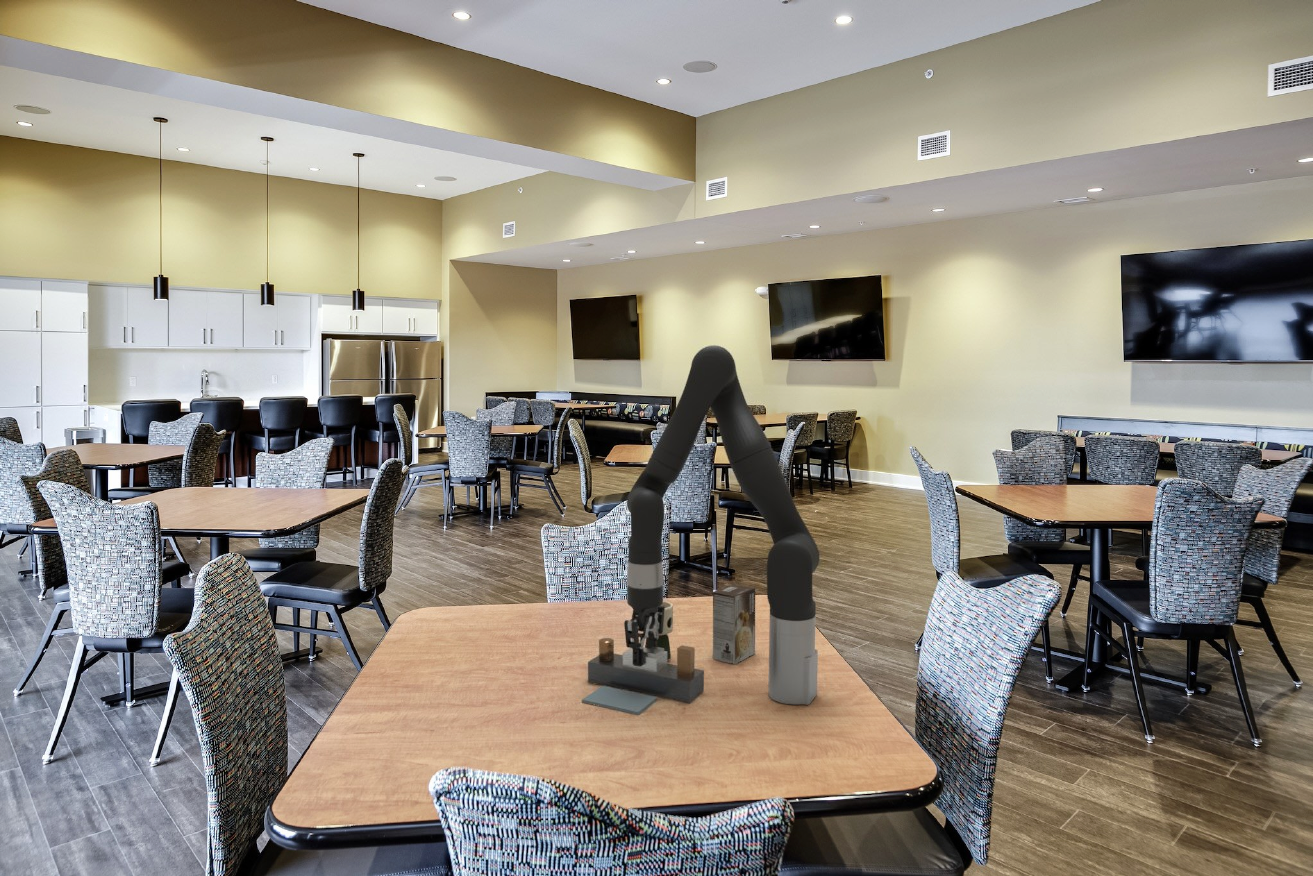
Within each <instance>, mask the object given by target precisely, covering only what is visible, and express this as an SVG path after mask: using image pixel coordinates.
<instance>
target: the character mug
mask: <svg viewBox="0 0 1313 876" xmlns="http://www.w3.org/2000/svg"><path fill="white" fill-rule="evenodd" d="M661 606H664V607H665V611H664V623H663V633H662V634H659V638H658V639H657V647H660V648H664V651H667V661H669V660H670V659H672V658H671V656H672V655H671V646H670V638H669V634H670V633H672V632H673V631H674V630H673V629H674V604H673V603H672V602H669V601H664V600H663V604H662V605H661ZM658 624H659V622H658ZM646 639H648V638H645V640H646ZM644 647H645V648H646V643H644Z"/></svg>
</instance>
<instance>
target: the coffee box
mask: <svg viewBox="0 0 1313 876" xmlns="http://www.w3.org/2000/svg"><path fill="white" fill-rule="evenodd" d="M755 654H756V587H752V586H746V585H740V584H735V583H734V584H730V585H728V586H725V587H722V588H720V589H718V590H715V591H713V592H712V659H713V660H715V661H719V662H723V661H724V663H727V664H731V663H733V664H732V665H737V664H739V663H740V661H741V662H742V661H744V660H745V659H747V658H749V656H750V657H752V656H753V655H755ZM738 662H739V663H738ZM736 663H737V664H736Z"/></svg>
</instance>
